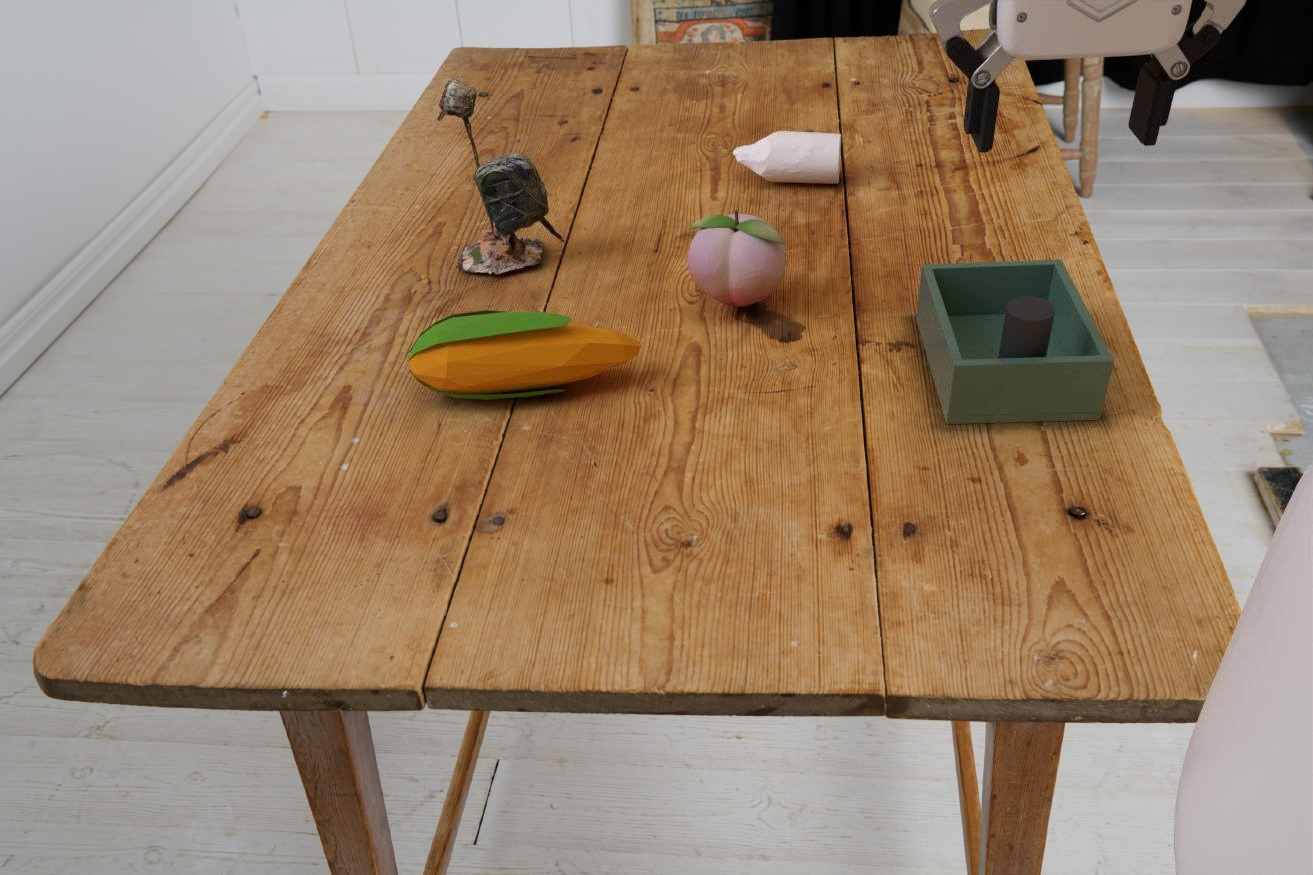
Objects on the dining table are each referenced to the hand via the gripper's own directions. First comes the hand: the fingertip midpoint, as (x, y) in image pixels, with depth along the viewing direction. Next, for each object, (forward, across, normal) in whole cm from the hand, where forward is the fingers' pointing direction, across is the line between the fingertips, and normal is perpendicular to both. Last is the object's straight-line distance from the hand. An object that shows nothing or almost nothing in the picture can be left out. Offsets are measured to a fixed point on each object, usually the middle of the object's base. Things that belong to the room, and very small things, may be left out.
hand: (1060, 140), depth 65 cm
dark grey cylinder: (+25, +3, +8) cm, 27 cm away
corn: (+26, -38, +12) cm, 48 cm away
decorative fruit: (+26, -20, +24) cm, 41 cm away
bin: (+26, +3, +13) cm, 29 cm away
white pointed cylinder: (+26, -14, +51) cm, 59 cm away
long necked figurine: (+26, -43, +34) cm, 61 cm away
